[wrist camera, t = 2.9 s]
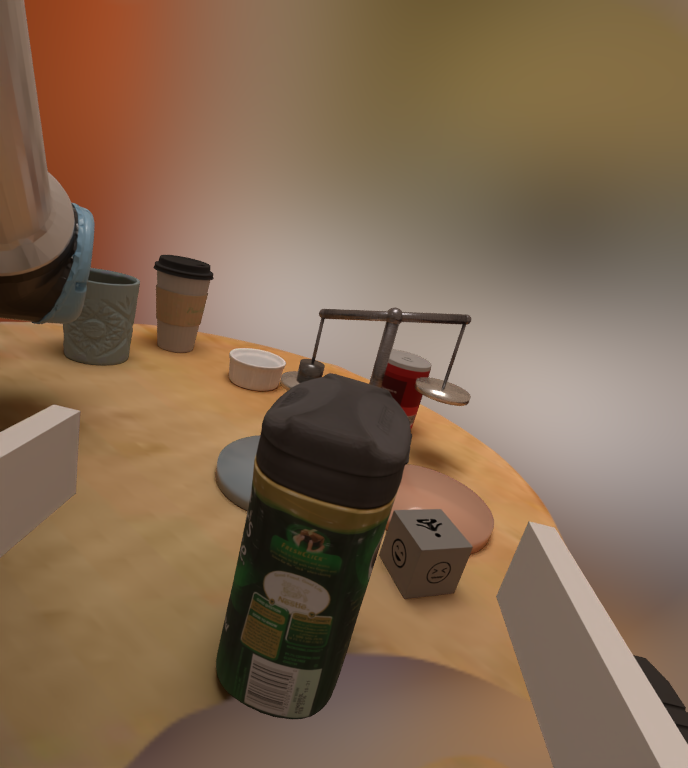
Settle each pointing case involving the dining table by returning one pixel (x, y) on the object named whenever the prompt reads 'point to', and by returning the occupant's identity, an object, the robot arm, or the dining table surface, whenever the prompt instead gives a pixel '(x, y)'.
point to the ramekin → (255, 369)
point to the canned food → (405, 380)
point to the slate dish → (237, 470)
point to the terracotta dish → (445, 502)
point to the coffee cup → (180, 301)
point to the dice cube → (424, 552)
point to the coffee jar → (310, 541)
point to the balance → (388, 352)
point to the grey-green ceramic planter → (103, 320)
